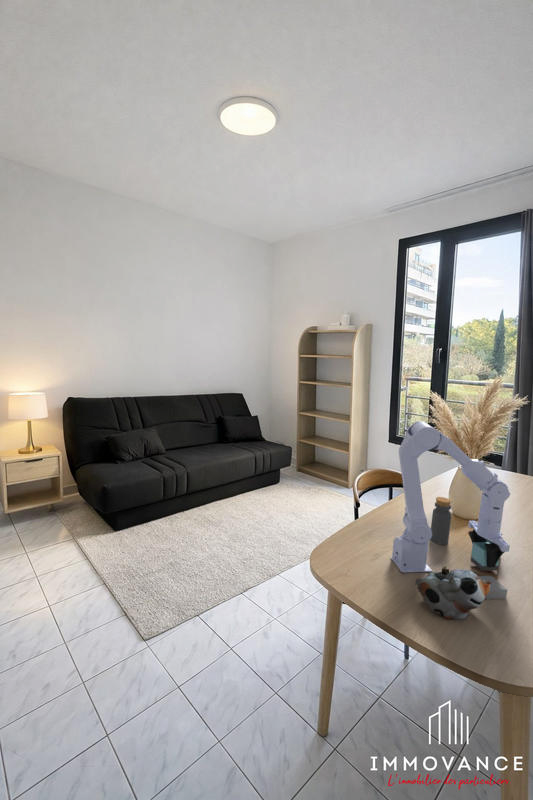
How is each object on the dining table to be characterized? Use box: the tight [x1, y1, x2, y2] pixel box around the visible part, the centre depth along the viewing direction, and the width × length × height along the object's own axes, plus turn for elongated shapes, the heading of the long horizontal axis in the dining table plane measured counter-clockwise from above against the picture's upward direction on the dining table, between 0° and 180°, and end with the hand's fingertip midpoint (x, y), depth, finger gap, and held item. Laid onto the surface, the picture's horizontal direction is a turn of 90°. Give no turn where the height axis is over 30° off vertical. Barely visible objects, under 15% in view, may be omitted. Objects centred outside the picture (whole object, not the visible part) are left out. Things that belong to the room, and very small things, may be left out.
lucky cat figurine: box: [415, 566, 491, 620], centre depth 93 cm, size 15×12×14 cm
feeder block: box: [478, 576, 508, 600], centre depth 101 cm, size 6×6×2 cm
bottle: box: [430, 496, 452, 545], centre depth 127 cm, size 6×6×15 cm
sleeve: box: [470, 542, 500, 571], centre depth 108 cm, size 5×5×6 cm
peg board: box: [468, 540, 501, 580], centre depth 113 cm, size 18×7×8 cm, turn 144°
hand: (484, 561), depth 109 cm, fingers closed on sleeve, 5 cm apart
